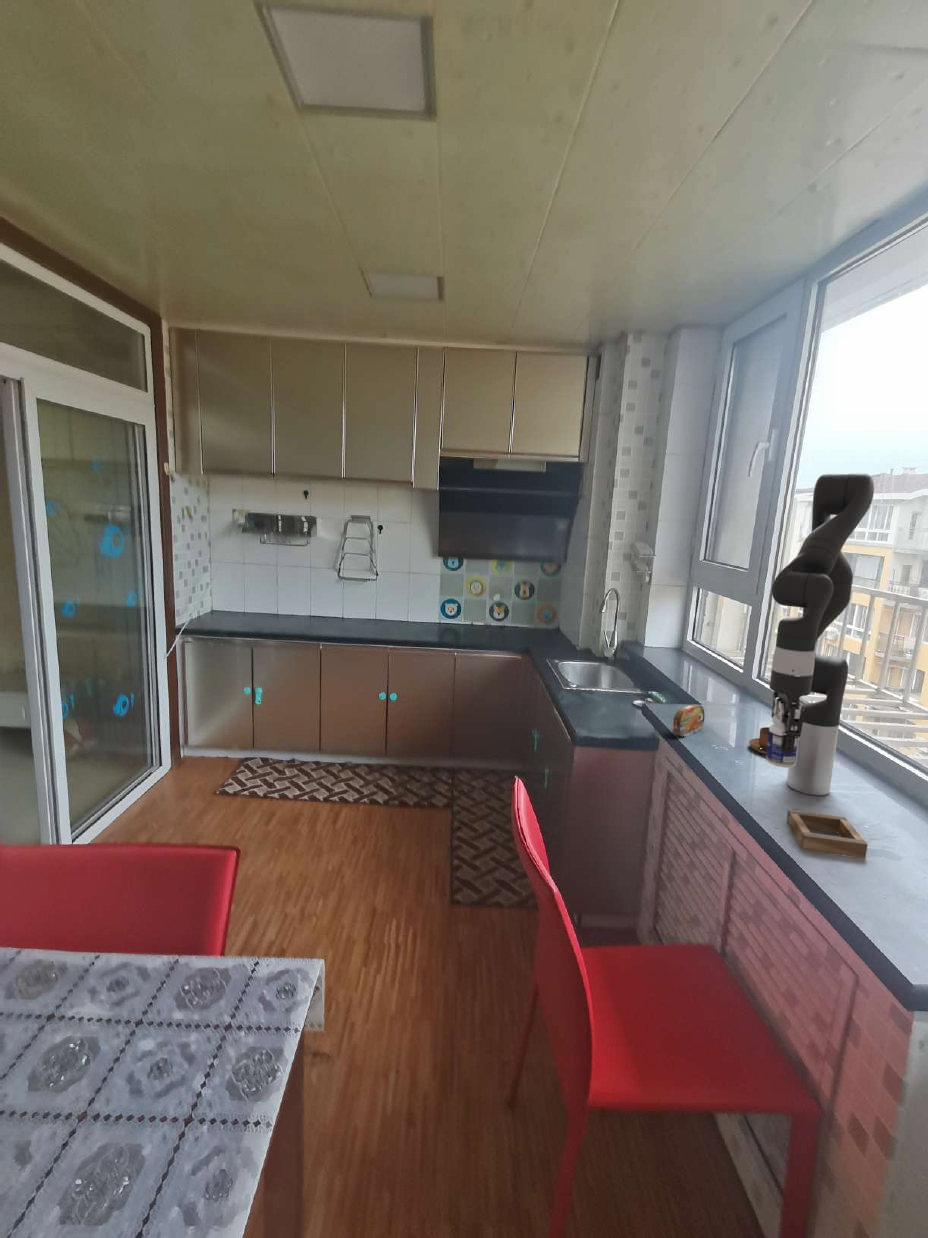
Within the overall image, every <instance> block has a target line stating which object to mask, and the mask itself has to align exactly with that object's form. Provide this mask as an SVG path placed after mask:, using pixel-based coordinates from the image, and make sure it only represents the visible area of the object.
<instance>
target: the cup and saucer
mask: <svg viewBox="0 0 928 1238" xmlns="http://www.w3.org/2000/svg"><path fill="white" fill-rule="evenodd" d="M769 728H770V726H769V727H768V726H767V727H765V726H764V727H761V728H760V729H759V737H758V738H757V737H756V738H752V739H750V740H749V743H748V744H749V746H750V747H751V748H752V749H753V750H755V751H757V752H758V753H761V754H763V755H766V752H767V743H768V734H769ZM760 748H762V749H760Z"/></svg>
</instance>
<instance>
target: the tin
mask: <svg viewBox="0 0 928 1238" xmlns="http://www.w3.org/2000/svg"><path fill="white" fill-rule="evenodd" d="M704 722H705V709H704V707H703V706H702V705H700V704H689V705H687V706H685V707H682V708H679V709H678V710H677V711H676V713H675V714H674V717H673V732H674V734H675V735H676V734H677V735H676V736H679V735H680V737H683V736H684V735H685V734H687V733H690V732H691V731H694V730H695V729H700V728H701V729H702V727H703V725H704ZM701 729H700V730H701Z"/></svg>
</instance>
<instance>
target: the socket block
mask: <svg viewBox="0 0 928 1238" xmlns="http://www.w3.org/2000/svg"><path fill="white" fill-rule="evenodd" d="M786 825H787V826H788V828H789V829H790V831H791V833H792V835H793V836H794V838H795V839H796V841H797V842H798V844H799V846H800V848H801V849H802V851H807V852H808V851H809V852H816V853H823V854H829V855H836V856H844V857H852V858H858V859H863V860H864V859H866V858H867V850H868V844H869V843H867V842H866V841H865V839H864V838H863V837H862V835H861V834H860V833H859V832H858V830H856V828H855V827H854V826H853V825H852V824H851V822H850V820H848V818H846V816H838V815H831V814H822V813H814V812H806V811H799V810H793V809H792V810H789V809H788V811H787V818H786ZM810 830H812V831H813V830H814V831H819V832H820V831H821V832H827V833H828V832H829V833H836V834H838V835H839V836H834V835H826V834H820V833H811V831H810Z"/></svg>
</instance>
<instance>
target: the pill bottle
mask: <svg viewBox="0 0 928 1238" xmlns="http://www.w3.org/2000/svg"><path fill="white" fill-rule="evenodd" d="M786 720H788V719H786ZM772 723H773V724H772V725H770V726H769V727H770V728H769V734H768V743H767V752H766V754H765V760H766V761H767V762H768V763H769V764H771V765H773V766H776V767H778V768H789V767H793V766H795V765H796V762H797V753H798V743H799V737H795V744H794V752H793V753H792V754H788V753H783V752H782V751H781V744H782V736H783V733H782V732H783V725H782V724H781V723H780V715H779V714H778V715H774V716H773V718H772ZM791 730H793V726H791Z"/></svg>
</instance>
